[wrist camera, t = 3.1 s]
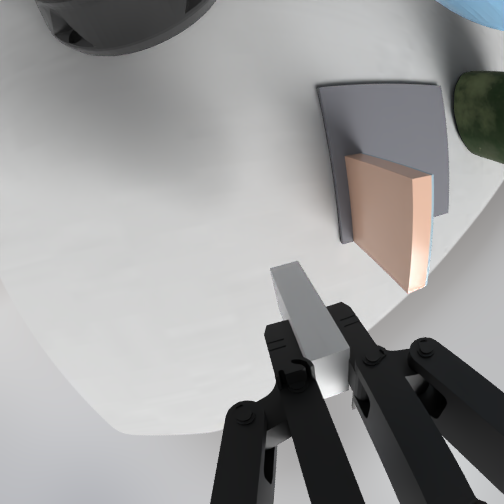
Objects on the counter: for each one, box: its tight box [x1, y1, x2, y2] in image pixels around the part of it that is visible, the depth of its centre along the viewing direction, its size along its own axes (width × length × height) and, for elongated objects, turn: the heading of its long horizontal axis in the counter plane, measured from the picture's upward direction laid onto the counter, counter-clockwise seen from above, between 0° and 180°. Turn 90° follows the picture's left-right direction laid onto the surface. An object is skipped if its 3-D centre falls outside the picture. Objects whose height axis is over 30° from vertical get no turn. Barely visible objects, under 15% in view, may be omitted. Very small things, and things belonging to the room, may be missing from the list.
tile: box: [345, 153, 434, 294], centre depth 19 cm, size 8×2×9 cm, turn 13°
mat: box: [317, 84, 449, 244], centre depth 22 cm, size 14×14×1 cm
